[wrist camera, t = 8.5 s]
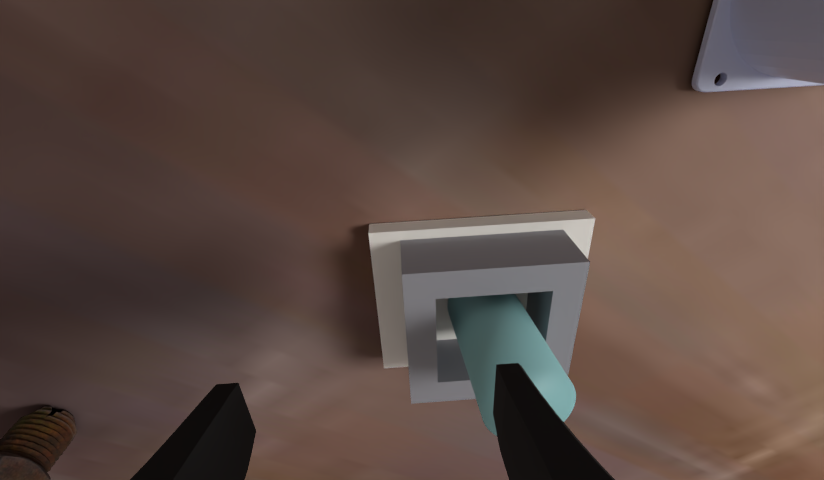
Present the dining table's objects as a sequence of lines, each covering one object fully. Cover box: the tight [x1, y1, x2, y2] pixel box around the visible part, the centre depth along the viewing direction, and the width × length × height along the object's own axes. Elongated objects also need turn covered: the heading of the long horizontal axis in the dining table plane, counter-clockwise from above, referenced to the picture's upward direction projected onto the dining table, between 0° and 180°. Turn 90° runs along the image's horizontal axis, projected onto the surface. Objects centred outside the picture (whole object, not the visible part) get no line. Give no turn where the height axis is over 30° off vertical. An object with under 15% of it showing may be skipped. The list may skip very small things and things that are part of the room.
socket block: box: [368, 210, 595, 403], centre depth 20 cm, size 11×9×4 cm
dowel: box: [447, 294, 576, 436], centre depth 18 cm, size 4×4×7 cm
